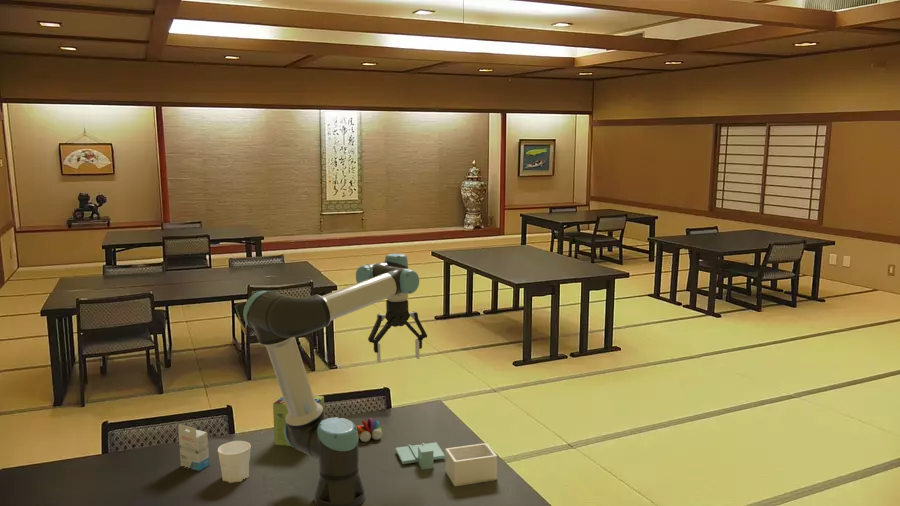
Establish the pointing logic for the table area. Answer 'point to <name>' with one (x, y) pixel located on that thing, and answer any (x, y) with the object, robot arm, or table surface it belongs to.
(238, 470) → the cup
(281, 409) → the protein box
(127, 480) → the table surface
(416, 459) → the lid
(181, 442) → the ink box
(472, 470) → the tub
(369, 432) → the rainbow disc toy
